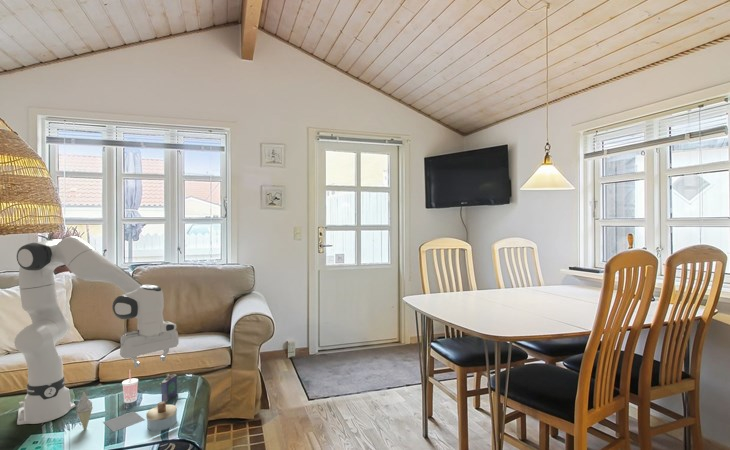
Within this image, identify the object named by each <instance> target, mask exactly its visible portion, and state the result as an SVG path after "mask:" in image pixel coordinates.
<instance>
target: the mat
mask: <svg viewBox="0 0 730 450" xmlns="http://www.w3.org/2000/svg"><path fill="white" fill-rule="evenodd" d="M143 421H145V419H144V418H143V417H142V416H141V415H139V414H138V413H137V412H136V411H134V410H133V411H131V412H127V413H124V414H122V415H119V416H116V417H114V418H111V419H108V420H105V421H103V424H104V425H105V426H106V427H108V428H109V429H110V430H111V431H112V432H113V433H114V432H115V433H116V432H117V431H120V430H122V429H125V428H127V427H130V426H133V425H135V424H138V423H141V422H143Z"/></svg>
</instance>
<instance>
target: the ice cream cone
mask: <svg viewBox="0 0 730 450" xmlns="http://www.w3.org/2000/svg"><path fill="white" fill-rule="evenodd" d="M75 407H76V409H75V410H76V413H77V415H78V418H79V421H80V423H81V425H82V426H81V427H82V429H83V430H84V431H86V430H87V428H88V424H89V421H90V418H91V414H92V411H93V409H94V408H93V402H92V400H91V399H89V397H88V395H87V394H86V392H85V391H83V392H82V394H81V396H80V398H79V402H78V403H77V405H75Z"/></svg>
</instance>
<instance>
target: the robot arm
mask: <svg viewBox="0 0 730 450" xmlns="http://www.w3.org/2000/svg"><path fill="white" fill-rule="evenodd" d="M16 262H17V264H18V266H19V271H18V285H19V286H18V287H19V294H20V301H21V307H22V310H23V311H26V312H27V313H28V315H29V318H30V319H31V324H29V325H26V326H25V327H24V328H23V329H21V331H19V332H18V334H16V336H15V338H14V342H13V343H14V347H15V348H16V350H17V351H18V352H19V353H22V355H23V357H24V359H25V363H26V367H27V384H26V395H25V397H24V400H23V401H19V402H18V404H19V405H18V407H19V408H18V412H17V420H16V425H19V426H21V425H27V424H28V425H29V424H31V425H35V424H42V423H48V422H51V421H53V420H56V419H59V418H61V417H63V416H64V415H66V414H67V413H69V412H70V411H71V410H73V409H74V408H75V407H76V404H75V403H74V402H71V401H72V400H71V393H70V391H71V390H70V389H69V388H68V387H66V379H65V376H64V365H63V364H64V363H63V357H62V356H61V355H59V353H58V351H57V348H56V347H57V346H56V344H57V343H58V342H59V341H60V340H62V339H63V338H64V337H65V336H66V335H67V334H68V332H69V331H70V328H71V322H70V320H69V319H68V318H67V316H65V315H64V314H63V312H62V311H63V310H62V309H61V307H60V304H59V302H58V295H57V290H56V289H57V288H56V284H55V277H54V271H55V269H56V268H58V267H59V268H64V267H67V269H69V271H70V272H71V273H72V274H73V275H74V276H76V277H78V278H79V279H81V280H83V281H86V282H102V283H109V284H112V285H114V286H116V287H118V288H119V289H120V290H121V291H123V292H124V294H120V295H119V296H117V297H115V298H114V300H113V302H112V306H111V307H112V311H113V314H114V316H115V317H116V318H118V319H119V320H130V319H137V327H136V328H137V329H136V330H132V331H126V332H124V334H122V335H121V336H120V340H119V341H120V350H119V355H120V357H121V358H122V359H125V360H126V359H131V361H132V362H133V368H135V369H137V368H141V362H140V361H139V360H138V361H137V359H138V356H144V355H147V354H151V353H157V352H159V351H163V353H162V354H161V355H159V357H160V358H159V360H160V362H164V361H166V360H167V355H168V353H169V352H170V349H173V348H176V347H178V345H179V342H180V340H179V338H180V337H179V333H178V330H177V326H178V325H177V324H176V323H174V322H171V321H169V320H167V321H166V320H165V319H164V314H163V313H164V312H163V311H164V308H165V307H164V305H165V301H164V292H163V289H162V287H160V286H159V285H157V284H156V285H155V284H143V283H141V282H140V281H138V280H137V279H136V278H134V277H133V276H132V275H131V274H130V273H128V272H127V271H125V269H123V268H122V267H120V266H118V265H117V264H115V263H113V262H112V261H110V260H109V259H107V258H106V257H104V256H103V255H102V254H100V253H99V251H98V250H96V249H95V248H94V247H93V246H92V245H91V244H89V243H88V242H86V241H85V240H84V239H82V238H80V237H79V236H74V235H73V236H72V235H70V236H67V237H64V238H60V239H59V238H57V239H47V240H43V241H38V242H30V243H27V244H24V245H22V246H21V247H20V248H18V250H17V252H16Z"/></svg>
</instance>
